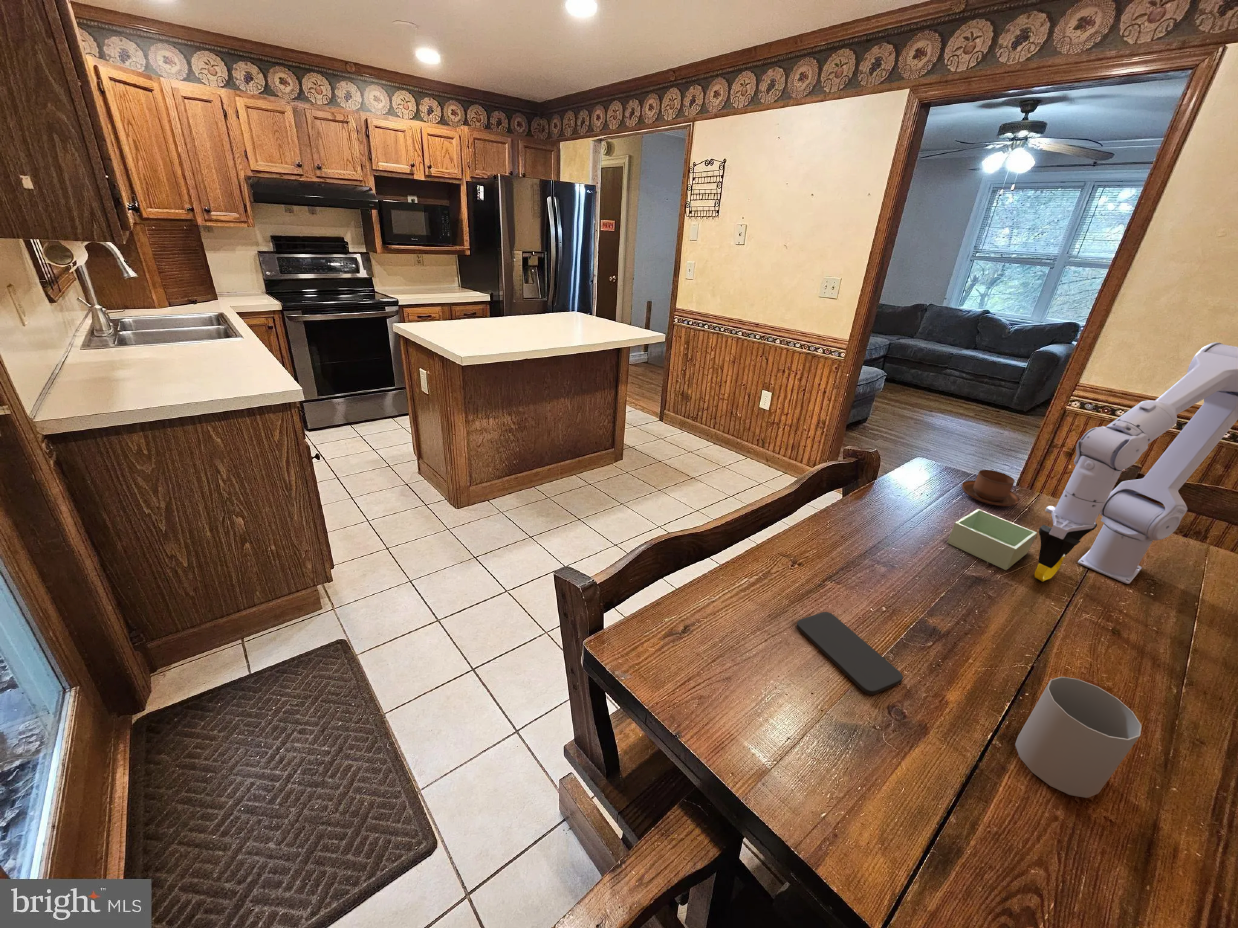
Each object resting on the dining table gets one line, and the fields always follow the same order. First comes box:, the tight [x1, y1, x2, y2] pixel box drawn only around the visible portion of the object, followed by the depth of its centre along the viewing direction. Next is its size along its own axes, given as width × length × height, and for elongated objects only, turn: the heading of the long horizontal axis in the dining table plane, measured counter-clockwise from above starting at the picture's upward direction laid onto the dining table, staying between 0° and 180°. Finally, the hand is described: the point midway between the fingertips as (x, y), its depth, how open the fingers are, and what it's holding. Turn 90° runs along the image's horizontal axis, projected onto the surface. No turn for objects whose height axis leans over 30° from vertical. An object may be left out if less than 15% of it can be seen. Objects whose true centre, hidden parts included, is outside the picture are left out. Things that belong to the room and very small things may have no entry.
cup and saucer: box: [961, 469, 1021, 507], centre depth 125 cm, size 12×12×6 cm
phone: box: [796, 611, 904, 696], centre depth 78 cm, size 7×1×15 cm
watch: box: [1033, 554, 1066, 582], centre depth 96 cm, size 6×3×6 cm, turn 117°
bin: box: [946, 508, 1038, 571], centre depth 105 cm, size 11×11×5 cm
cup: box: [1014, 676, 1143, 799], centre depth 61 cm, size 8×8×10 cm
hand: (1052, 558), depth 96 cm, fingers open, 7 cm apart
